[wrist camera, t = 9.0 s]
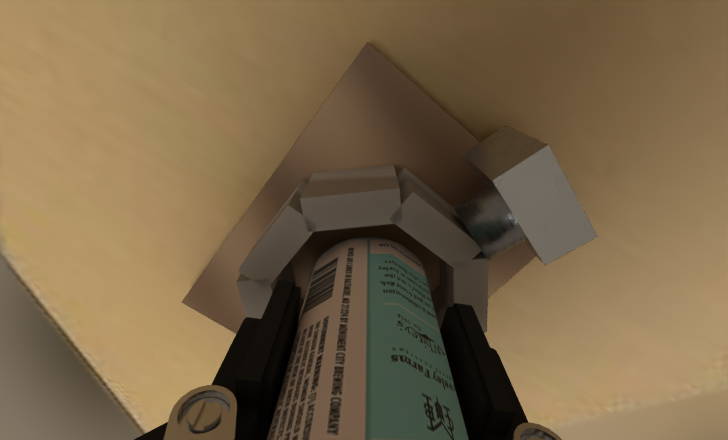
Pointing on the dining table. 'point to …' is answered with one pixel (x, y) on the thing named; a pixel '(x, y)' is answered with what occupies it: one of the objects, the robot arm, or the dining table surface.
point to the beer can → (367, 353)
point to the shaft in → (522, 199)
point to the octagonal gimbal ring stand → (361, 201)
